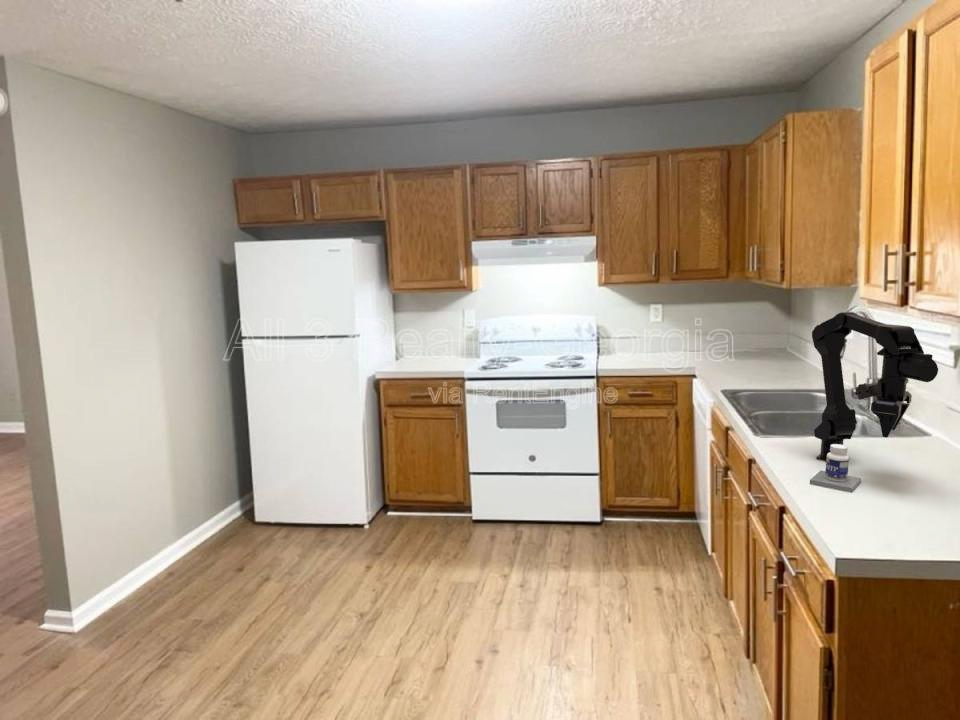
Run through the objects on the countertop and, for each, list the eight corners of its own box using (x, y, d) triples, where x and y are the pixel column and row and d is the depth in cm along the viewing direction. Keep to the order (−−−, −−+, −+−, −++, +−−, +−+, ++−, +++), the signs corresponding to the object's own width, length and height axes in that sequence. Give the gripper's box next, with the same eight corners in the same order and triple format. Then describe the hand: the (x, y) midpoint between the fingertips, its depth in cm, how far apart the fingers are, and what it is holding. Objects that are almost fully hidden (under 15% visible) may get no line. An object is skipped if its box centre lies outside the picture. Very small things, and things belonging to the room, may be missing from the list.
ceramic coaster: (820, 474, 193) (820, 470, 192) (860, 482, 186) (861, 478, 186) (809, 484, 185) (810, 479, 185) (851, 492, 179) (852, 488, 178)
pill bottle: (820, 476, 187) (822, 444, 186) (835, 474, 189) (838, 442, 187) (836, 483, 182) (839, 449, 181) (852, 480, 184) (855, 447, 182)
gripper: (867, 366, 195) (862, 421, 197) (851, 376, 180) (846, 435, 183) (914, 371, 188) (908, 428, 190) (901, 381, 173) (895, 443, 176)
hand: (888, 433), depth 185 cm, fingers open, 9 cm apart
